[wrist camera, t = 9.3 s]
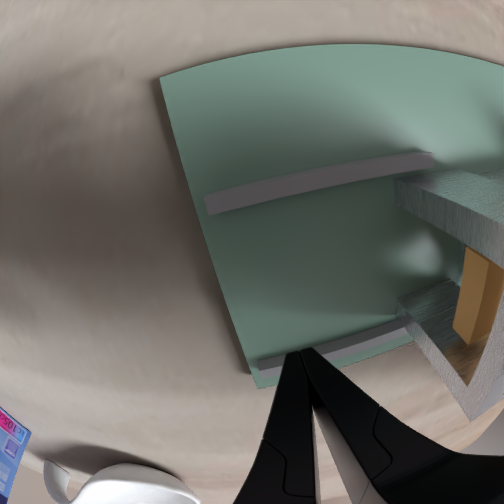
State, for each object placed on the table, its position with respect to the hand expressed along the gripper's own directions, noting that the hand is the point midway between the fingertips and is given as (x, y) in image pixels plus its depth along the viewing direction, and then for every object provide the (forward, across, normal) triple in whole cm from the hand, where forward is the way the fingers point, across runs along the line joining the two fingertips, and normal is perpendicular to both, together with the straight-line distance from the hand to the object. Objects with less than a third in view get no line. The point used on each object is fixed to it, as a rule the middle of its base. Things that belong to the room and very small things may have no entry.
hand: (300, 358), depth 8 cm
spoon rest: (+5, +24, +21) cm, 32 cm away
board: (+4, -8, -2) cm, 10 cm away
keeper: (+4, -7, -1) cm, 8 cm away
